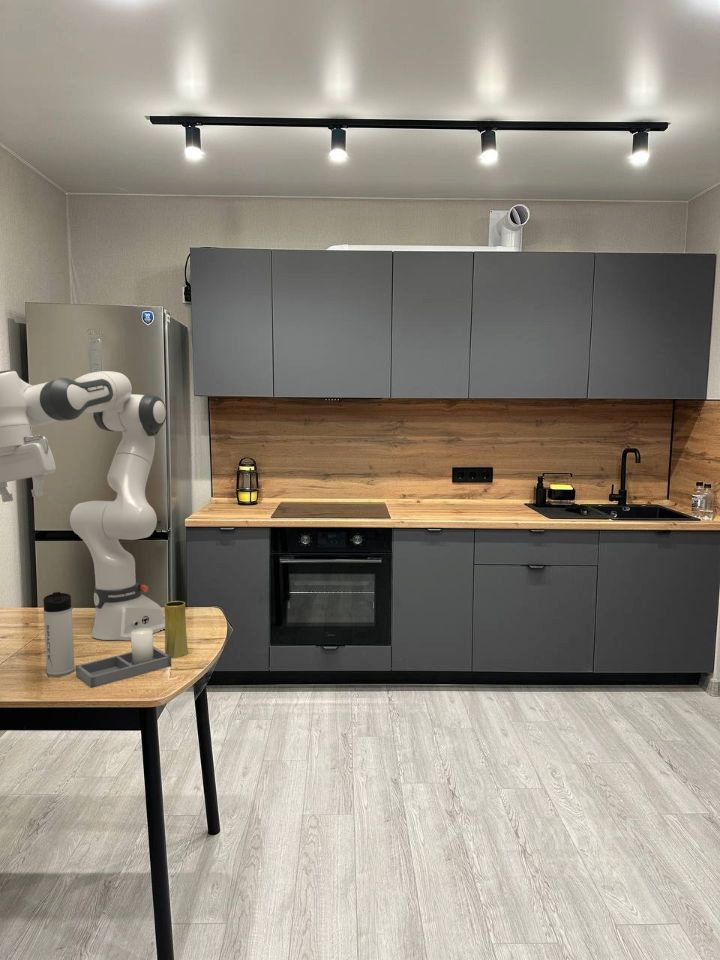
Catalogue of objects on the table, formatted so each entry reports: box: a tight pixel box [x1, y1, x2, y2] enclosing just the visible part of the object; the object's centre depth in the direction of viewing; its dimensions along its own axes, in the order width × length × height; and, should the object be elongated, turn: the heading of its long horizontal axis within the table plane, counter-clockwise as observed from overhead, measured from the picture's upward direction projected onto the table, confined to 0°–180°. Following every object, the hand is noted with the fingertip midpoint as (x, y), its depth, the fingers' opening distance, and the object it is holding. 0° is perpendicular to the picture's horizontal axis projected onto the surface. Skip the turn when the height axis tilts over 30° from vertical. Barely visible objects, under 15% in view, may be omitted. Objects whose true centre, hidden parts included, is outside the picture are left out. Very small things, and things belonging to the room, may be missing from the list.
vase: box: [164, 600, 189, 659], centre depth 176 cm, size 6×6×14 cm
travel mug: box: [42, 591, 75, 679], centre depth 164 cm, size 6×7×20 cm
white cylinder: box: [130, 628, 154, 665], centre depth 168 cm, size 5×5×9 cm
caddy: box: [75, 645, 172, 689], centre depth 165 cm, size 20×10×3 cm, turn 132°
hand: (22, 499), depth 155 cm, fingers open, 8 cm apart
